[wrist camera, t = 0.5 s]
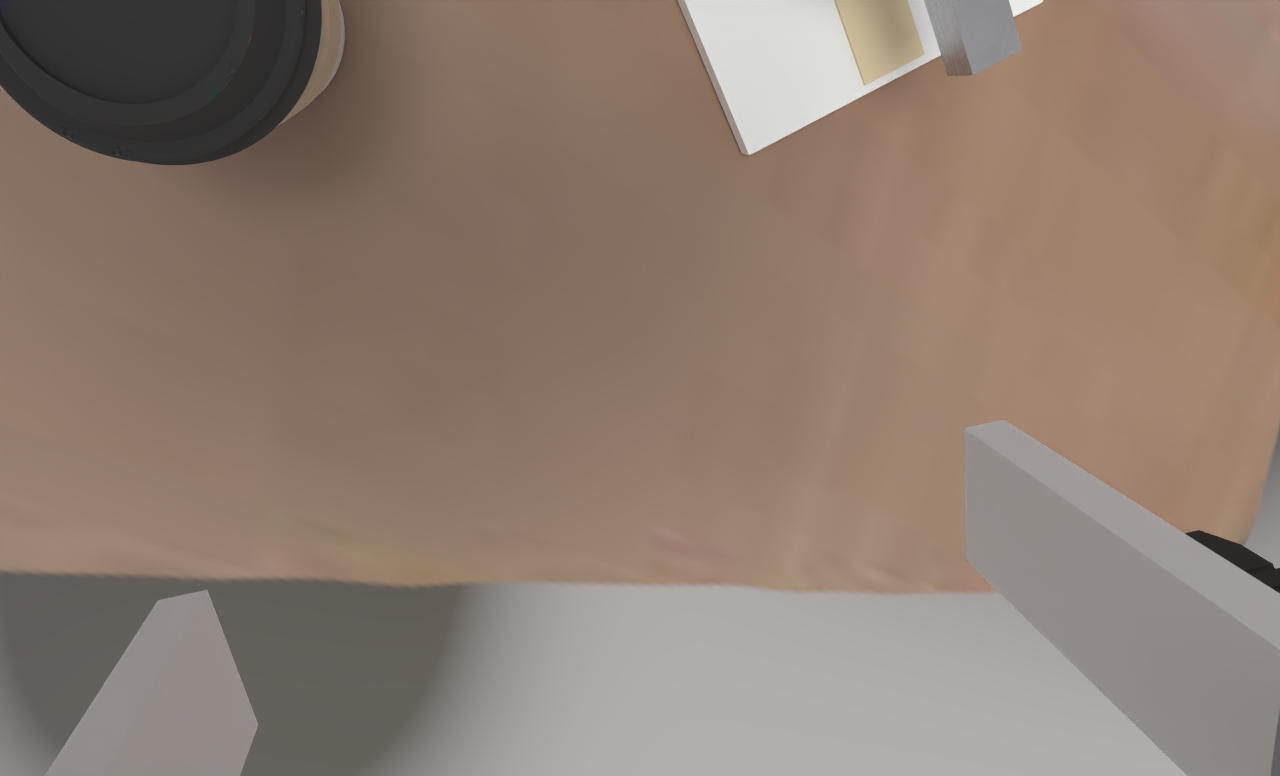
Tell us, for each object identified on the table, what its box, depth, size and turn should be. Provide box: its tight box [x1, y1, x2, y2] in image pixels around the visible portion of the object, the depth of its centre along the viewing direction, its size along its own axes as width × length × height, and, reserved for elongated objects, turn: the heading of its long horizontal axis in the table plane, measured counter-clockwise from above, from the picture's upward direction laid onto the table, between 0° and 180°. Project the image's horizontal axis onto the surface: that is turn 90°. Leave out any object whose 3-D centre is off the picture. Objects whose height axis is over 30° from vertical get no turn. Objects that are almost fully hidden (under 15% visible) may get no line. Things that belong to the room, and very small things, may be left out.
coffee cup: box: [0, 0, 345, 165], centre depth 28 cm, size 9×9×15 cm
